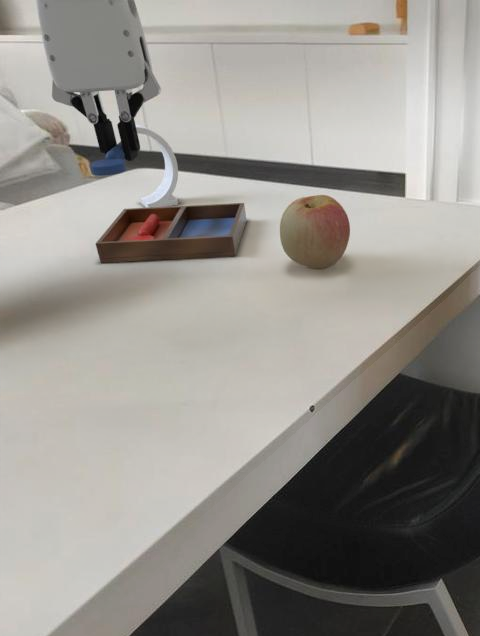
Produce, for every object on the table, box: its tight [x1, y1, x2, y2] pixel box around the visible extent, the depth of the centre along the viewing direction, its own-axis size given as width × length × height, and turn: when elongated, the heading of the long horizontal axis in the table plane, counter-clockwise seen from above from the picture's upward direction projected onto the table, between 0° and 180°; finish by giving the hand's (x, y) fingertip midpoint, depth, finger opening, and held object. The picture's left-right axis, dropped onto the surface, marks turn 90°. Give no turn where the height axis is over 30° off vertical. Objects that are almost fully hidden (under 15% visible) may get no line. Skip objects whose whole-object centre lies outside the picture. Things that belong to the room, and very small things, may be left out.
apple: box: [279, 194, 351, 270], centre depth 85 cm, size 9×9×8 cm
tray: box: [95, 202, 247, 264], centre depth 97 cm, size 18×16×3 cm
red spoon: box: [126, 214, 160, 241], centre depth 96 cm, size 4×12×2 cm, turn 2°
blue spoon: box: [88, 141, 128, 177], centre depth 78 cm, size 4×12×2 cm, turn 1°
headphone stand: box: [135, 123, 180, 208], centre depth 110 cm, size 5×6×12 cm
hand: (122, 157), depth 80 cm, fingers closed on blue spoon, 1 cm apart
